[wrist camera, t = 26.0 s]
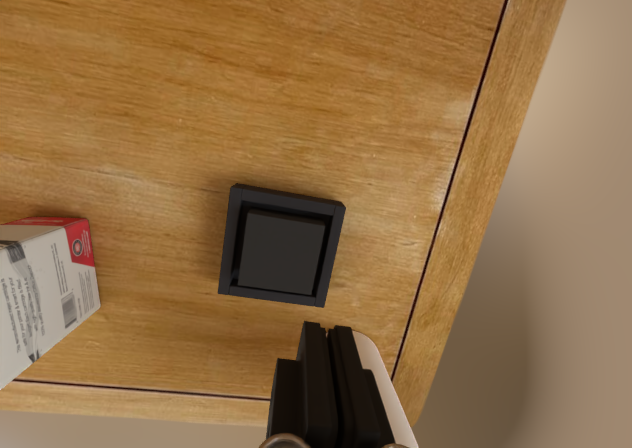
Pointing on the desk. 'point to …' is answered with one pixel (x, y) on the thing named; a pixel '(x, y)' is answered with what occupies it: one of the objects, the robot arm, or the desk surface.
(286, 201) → the socket pad
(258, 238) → the black pad
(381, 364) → the cup
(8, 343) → the ink box
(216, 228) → the desk surface
